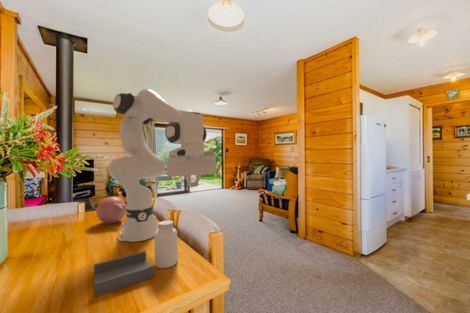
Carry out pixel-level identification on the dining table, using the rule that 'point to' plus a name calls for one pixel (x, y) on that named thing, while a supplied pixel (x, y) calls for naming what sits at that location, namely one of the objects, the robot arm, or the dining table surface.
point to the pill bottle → (166, 245)
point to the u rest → (121, 272)
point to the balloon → (111, 210)
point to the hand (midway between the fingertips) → (193, 186)
